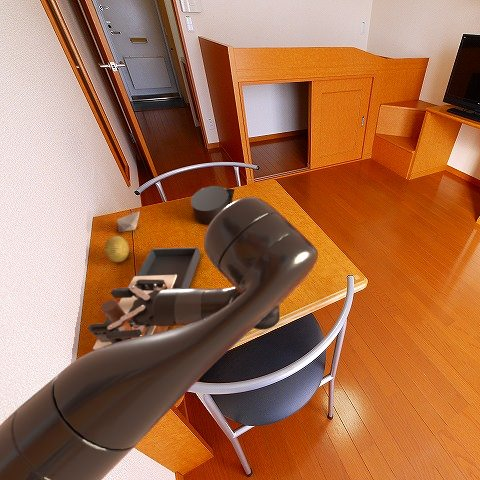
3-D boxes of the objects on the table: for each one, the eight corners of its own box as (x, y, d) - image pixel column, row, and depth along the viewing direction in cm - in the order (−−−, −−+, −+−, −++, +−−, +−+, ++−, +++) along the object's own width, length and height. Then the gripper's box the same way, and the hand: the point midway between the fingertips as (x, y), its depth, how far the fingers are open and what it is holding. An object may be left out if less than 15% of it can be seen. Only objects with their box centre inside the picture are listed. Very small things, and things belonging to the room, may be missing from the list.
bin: (185, 297, 76) (182, 289, 74) (131, 299, 75) (126, 292, 73) (200, 254, 89) (198, 247, 87) (155, 256, 88) (151, 248, 86)
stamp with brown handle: (145, 339, 60) (126, 314, 54) (101, 342, 59) (77, 317, 53) (153, 319, 64) (137, 294, 58) (112, 322, 63) (91, 296, 57)
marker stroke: (177, 284, 78) (177, 285, 79) (163, 281, 77) (163, 281, 78) (175, 288, 78) (175, 288, 78) (162, 284, 77) (162, 285, 77)
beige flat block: (156, 358, 63) (146, 345, 59) (105, 361, 62) (92, 348, 58) (182, 288, 79) (176, 274, 75) (142, 290, 78) (134, 276, 74)
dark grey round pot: (190, 227, 102) (184, 211, 96) (201, 198, 114) (196, 183, 109) (230, 227, 103) (227, 211, 98) (236, 198, 116) (234, 183, 111)
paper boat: (104, 231, 95) (114, 211, 100) (123, 240, 99) (132, 220, 105) (124, 220, 90) (133, 199, 95) (143, 229, 94) (151, 209, 100)
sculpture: (121, 250, 90) (110, 231, 85) (134, 249, 90) (124, 230, 85) (110, 268, 84) (97, 248, 79) (124, 267, 84) (112, 247, 79)
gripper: (188, 269, 61) (111, 272, 59) (166, 327, 50) (71, 331, 49) (197, 291, 66) (125, 294, 64) (179, 347, 55) (92, 352, 53)
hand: (102, 310), depth 56 cm, fingers open, 8 cm apart
